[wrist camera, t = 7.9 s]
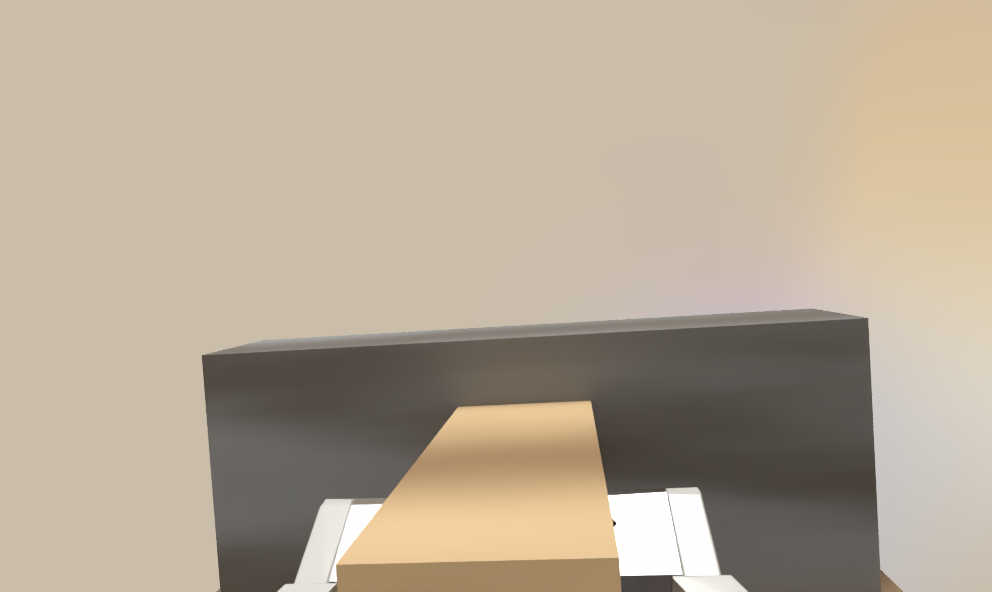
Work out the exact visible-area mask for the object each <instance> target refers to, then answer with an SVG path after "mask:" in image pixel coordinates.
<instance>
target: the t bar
mask: <svg viewBox="0 0 992 592" xmlns="http://www.w3.org/2000/svg"><path fill="white" fill-rule="evenodd" d="M202 363H203V376H204V387H205V401H206V413H207V426H208V437H209V452H210V464H211V477H212V489H213V502H214V514H215V527H216V540H217V552H218V565H219V578H220V590H221V592H277V591H278V590H279V589H280V588H282V587H283V586H284V585H285V584H294V582H295V579H296V576H297V573H298V570H299V567H300V564H301V561H302V558H303V555H304V552H305V549H306V546H307V543H308V541H309V538H310V535H311V532H312V529H313V526H314V523H315V520H316V517H317V514H318V511H319V508H320V506H321V505H322V504H323V502H324V501H325V500H326V499H355V498H387V499H386V500H385V502H384V503H383V504H382V506H381V507H380V508H379V509H378V511H377V512H376V513H375V515H374V516H373V517H372V519H371V520H370V521H369V522H368V524H367V525H366V526H365V528H364V529H363V530H362V531H361V533H360V534H359V535H358V537H357V538H356V539H355V540H354V542H353V543H352V544H351V546H350V547H349V548H348V549H347V551H346V552H345V553H344V555H343V556H342V557H341V558H340V560H339V561H338V562H337V564H336V577H337V590H338V592H621V577H620V561H619V553H618V548H617V542H616V537H615V531H614V526H613V520H612V515H611V509H610V504H609V498H608V493H607V491H613V490H635V489H658V488H664V489H666V488H692V487H697V488H698V489H699V490H700V492H701V495H702V499H703V503H704V507H705V511H706V515H707V519H708V523H709V527H710V531H711V535H712V539H713V543H714V547H715V552H716V556H717V560H718V564H719V568H720V572H721V575H732V576H733V577H734V578H735V579H736V580H737V581H738V582H739V583H740V584H741V585H742V586H743V587H744V588H745V589H746V590H747V591H748V592H881V579H880V558H879V537H878V517H877V495H876V475H875V454H874V434H873V412H872V391H871V370H870V349H869V328H868V318H864V317H858V316H852V315H846V314H840V313H834V312H828V311H823V310H817V309H800V310H783V311H765V312H747V313H730V314H713V315H696V316H678V317H661V318H643V319H627V320H608V321H593V322H573V323H556V324H539V325H523V326H522V325H521V326H504V327H488V328H487V327H486V328H469V329H453V330H434V331H417V332H401V333H382V334H367V335H349V336H348V335H347V336H333V337H332V336H330V337H314V338H296V339H278V340H263V341H259V342H255V343H251V344H247V345H242V346H238V347H235V348H231V349H226V350H222V351H218V352H214V353H209V354H205V355H202Z"/></svg>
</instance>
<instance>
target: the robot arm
mask: <svg viewBox="0 0 992 592" xmlns="http://www.w3.org/2000/svg"><path fill="white" fill-rule="evenodd" d="M607 493H608V498H609V504H610V509H611V515H612V520H613V526H614V531H615V537H616V542H617V548H618V553H619V561H620V577H621V592H748V591H747V590H746V589H745V588H744V587H743V586H742V585H741V584H740V583H739V582H738V581H737V580H736V579H735V578H734V577H733V576H732V575H721V572H720V568H719V564H718V560H717V556H716V552H715V547H714V543H713V539H712V535H711V531H710V527H709V523H708V519H707V515H706V511H705V507H704V503H703V499H702V495H701V492H700V490H699V489H698V488H697V487H692V488H666V489H664V488H658V489H635V490H613V491H607ZM386 499H387V498H355V499H326V500H325V501H324V502H323V504H322V505H321V506H320V508H319V511H318V514H317V517H316V520H315V523H314V526H313V529H312V532H311V535H310V538H309V541H308V543H307V546H306V549H305V552H304V555H303V558H302V561H301V564H300V567H299V570H298V573H297V576H296V579H295V582H294V584H285V585H284V586H283V587H282V588H280V589H279V590H278V591H277V592H338V590H337V577H336V564H337V562H338V561H339V560H340V558H341V557H342V556H343V555H344V553H345V552H346V551H347V549H348V548H349V547H350V546H351V544H352V543H353V542H354V540H355V539H356V538H357V537H358V535H359V534H360V533H361V531H362V530H363V529H364V528H365V526H366V525H367V524H368V522H369V521H370V520H371V519H372V517H373V516H374V515H375V513H376V512H377V511H378V509H379V508H380V507H381V506H382V504H383V503H384V502H385V500H386Z"/></svg>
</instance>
